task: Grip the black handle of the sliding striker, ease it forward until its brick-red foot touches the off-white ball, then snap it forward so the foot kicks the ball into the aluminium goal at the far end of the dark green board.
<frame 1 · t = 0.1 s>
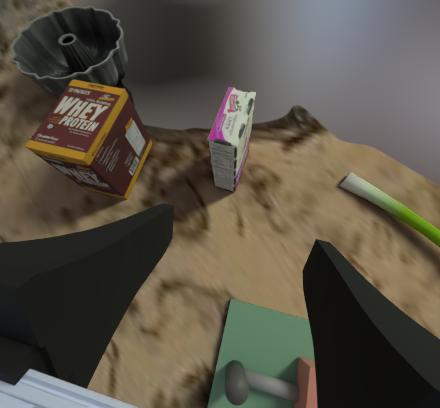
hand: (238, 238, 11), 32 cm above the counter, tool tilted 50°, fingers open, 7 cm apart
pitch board: (327, 397, 34), on the counter
bundt pan: (91, 77, 62), on the counter
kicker: (271, 391, 30), point 5 cm above the counter, slide at 0.0 cm
leek: (405, 229, 44), on the counter
candy bar box: (231, 169, 49), on the counter
supplement box: (120, 166, 51), on the counter
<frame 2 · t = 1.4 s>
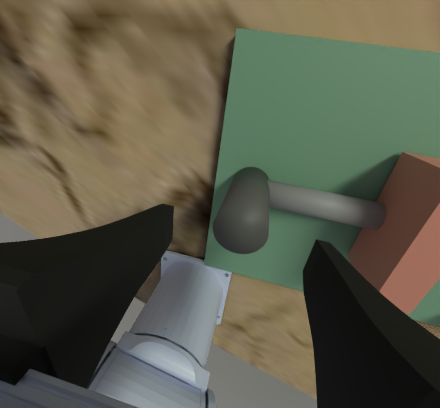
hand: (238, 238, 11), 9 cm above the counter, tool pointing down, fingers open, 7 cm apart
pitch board: (434, 217, 17), on the counter
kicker: (324, 220, 14), point 5 cm above the counter, slide at 0.0 cm
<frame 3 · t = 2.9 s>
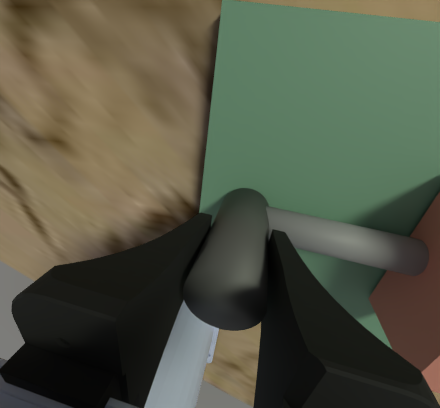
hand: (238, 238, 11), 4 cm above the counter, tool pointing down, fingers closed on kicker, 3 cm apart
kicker: (345, 269, 10), point 5 cm above the counter, slide at 0.0 cm, touching gripper
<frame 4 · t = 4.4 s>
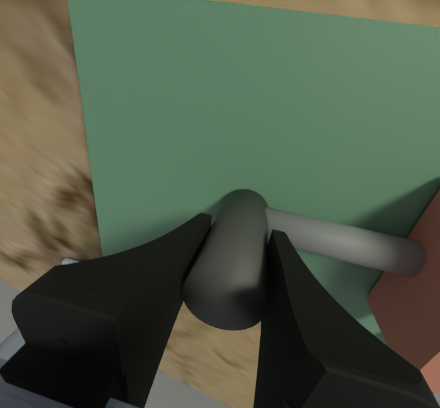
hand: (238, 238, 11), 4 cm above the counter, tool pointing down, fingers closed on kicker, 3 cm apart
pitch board: (344, 224, 14), on the counter
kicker: (343, 270, 10), point 5 cm above the counter, slide at 8.0 cm, touching gripper
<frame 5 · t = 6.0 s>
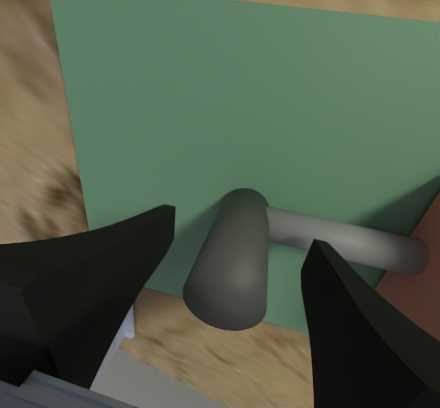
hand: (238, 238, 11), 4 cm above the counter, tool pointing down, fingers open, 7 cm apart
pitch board: (330, 219, 14), on the counter
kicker: (345, 269, 10), point 5 cm above the counter, slide at 9.0 cm
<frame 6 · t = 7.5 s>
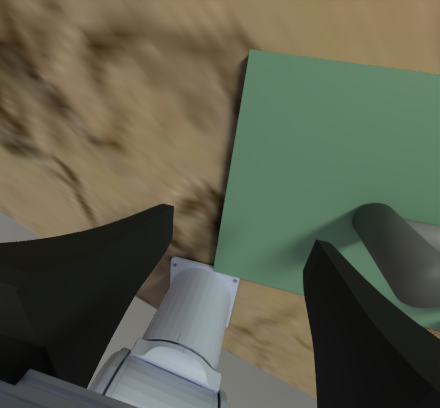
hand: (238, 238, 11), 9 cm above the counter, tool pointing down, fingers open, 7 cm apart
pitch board: (438, 227, 18), on the counter
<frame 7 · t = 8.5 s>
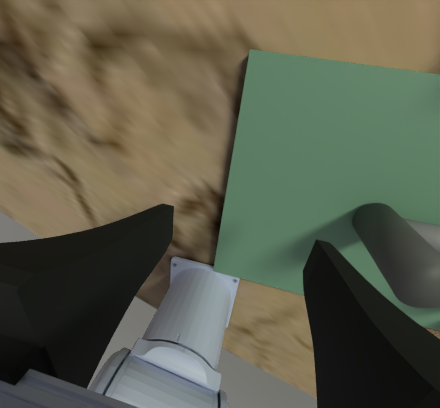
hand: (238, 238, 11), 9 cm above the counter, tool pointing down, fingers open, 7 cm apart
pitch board: (438, 227, 18), on the counter
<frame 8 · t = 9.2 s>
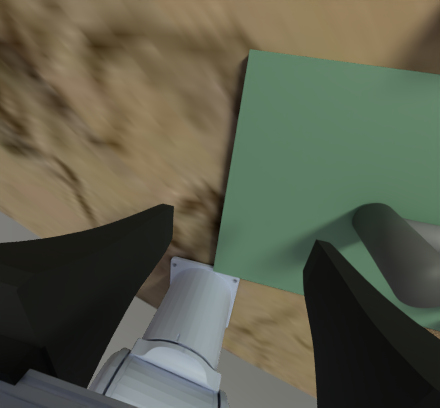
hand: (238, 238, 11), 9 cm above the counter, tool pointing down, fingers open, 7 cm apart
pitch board: (438, 227, 18), on the counter
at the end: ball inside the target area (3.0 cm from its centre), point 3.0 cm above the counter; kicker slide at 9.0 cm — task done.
